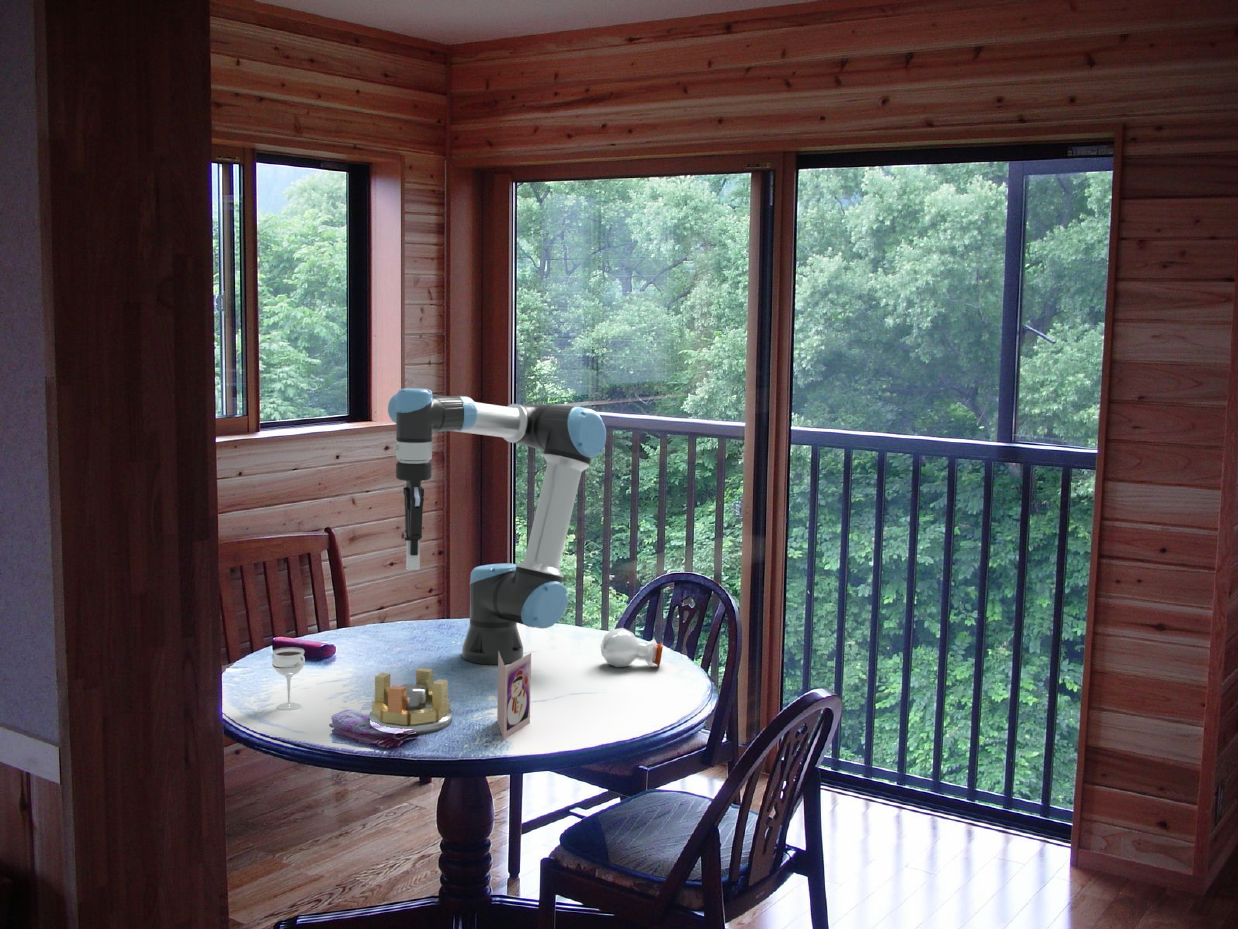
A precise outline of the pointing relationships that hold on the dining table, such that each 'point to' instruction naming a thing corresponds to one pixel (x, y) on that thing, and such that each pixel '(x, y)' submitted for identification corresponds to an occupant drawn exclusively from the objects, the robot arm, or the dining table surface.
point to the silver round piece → (417, 702)
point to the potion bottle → (629, 649)
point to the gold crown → (393, 700)
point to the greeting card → (513, 695)
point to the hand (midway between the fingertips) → (413, 569)
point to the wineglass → (288, 669)
